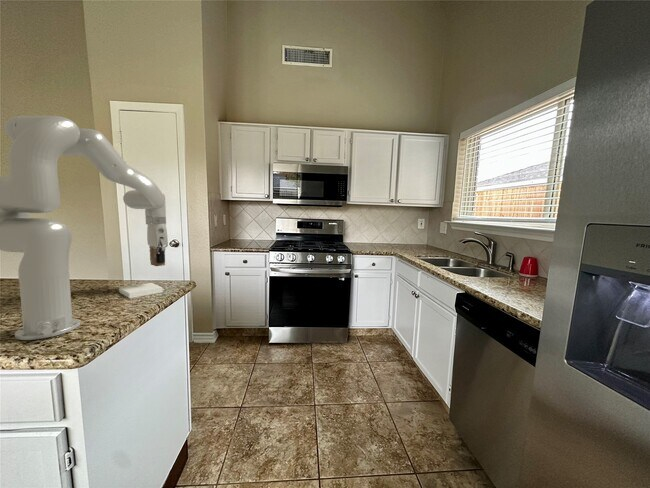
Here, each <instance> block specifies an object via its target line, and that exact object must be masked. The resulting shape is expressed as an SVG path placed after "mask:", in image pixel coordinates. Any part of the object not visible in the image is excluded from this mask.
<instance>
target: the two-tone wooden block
mask: <svg viewBox="0 0 650 488" xmlns="http://www.w3.org/2000/svg"><path fill="white" fill-rule="evenodd" d="M149 247H150V246H149ZM158 247H160V246H158ZM159 250H160V248H159ZM156 254H157V248H156V247H150V248H149V260H150V265H151V266H154V267H161V266H165V265H166V261H165V262H164V263H157V261H156Z"/></svg>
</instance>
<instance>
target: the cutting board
mask: <svg viewBox="0 0 650 488" xmlns="http://www.w3.org/2000/svg"><path fill="white" fill-rule="evenodd" d="M118 290H119V291H118V292H119V293H120V294H121V295H122V296H125V297H127V298H129V299H132V298H138V297H144V296H148V295H153V294H161V293H163V291H164V289H163V286H160V285H157V284H155V283H152V282H147V283H142V284H136V285H130V286H124V287H119V288H118Z"/></svg>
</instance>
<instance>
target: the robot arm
mask: <svg viewBox="0 0 650 488" xmlns="http://www.w3.org/2000/svg"><path fill="white" fill-rule="evenodd" d="M4 131H5V132H4V133H5V134H6V136H7V137H8V138H9V139H10V140H11V142H12V143H11V145H10V148H9V152H8V163H9V164H8V167H9V170H8V171H9V176H0V251H3V252H8V253H20V254H21V253H23V256H22V258H21V259H20V262H19V265H18V269H17V270H18V273H17V274H18V282H19V295H20V296H19V297H20V304H21V305H20V306H21V317H22V318H21V319H22V327H21V328H19V329H18V330H16V331H15V332H14V338H15V339H16V340H19V341H20V340H21V341H33V340H35V341H36V340H42V339H48V338H52V337H56V336H60V335H62V334H66V333H68V332H69V333H70V331H73V330H76V329H77V328H78V327H80V324H81V321H80V319H78V318H74V317H73V309H72V296H71V295H72V294H71V283H70V282H71V281H70V267H69V266H70V265H69V261H70V260H69V259H70V258H69V256H70V250H71V245H72V239H73V238H72V237H73V236H72V232H71V230H70V228H69V227H68V226H67V225H66V224H65V223H63V222H61V221H59V220H56V219H52V218H43V217H38V218H37V217H36V218H35V217H31V215H30V214H46V213H47V214H48V213H52V212H55V211H56V210H58V209H59V207H60V204H61V192H60V185H59V183H60V182H59V176H58V174H59V173H58V162H59V161H58V160H59V159H60V156H68V157H69V156H70V157H85V158H86V159H87V161H89V162H90V163H91V165H92V166H94V167H95V169H96V170H97V171H98V172H99V173H100V174H101V175H102V176H103V177H104V178H105V179H106V180H108V181H111V182H113V183H117V184H118V185H123V186H126V187H128V188H131V189H132V190H128V191H127V192H124V194H123V196H122V200H123V203H124V204H125V206H127V207H129V208H131V209H135V210H139V209H140V210H144V213H145V214H144V215H145V217H144V218H145V225H146V226H147V228H146V229H147V231H146V234H147V236H146V239H147V245H148V247H149V249H150V247H156V248H157V254H156V261H157V263H164V262H165V263H166V249H167V247H168V245H169V242H168V241H169V239H168V231H167V226H166V225H167V214H166V213H167V211H166V195H165V194H164V193H162V191H161V189H160V188H159V186H158V185H157V184H156V183H155V182H154V181H153V180H152V179H151V178H149V177H148V176H146V175H145V174H143V173H142V172H140V171H138V170H137V169H136V168H134V167H132V166H130V165H129V164H128V163H127V162H126V161H125V159H124V158H123V157H122V156H121V154H120V153H119V152H118V151H117V149H116V148H115V147H114V146H113V145H112V143H110V141H109V140H108V139H107V137H106V136H105V135H104V134H103V133H102V132H101V131H98V130H96V129H92V128H83V127H81V128H79V126H78V125H77V124H76V123H75V122H74V121H73V120H71V119H69V118H67V117H64V116H60V115H17V116H13V117H10V118H8V119H7V120H6V122H4ZM158 246H160V247H158ZM159 248H160V250H159Z"/></svg>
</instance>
